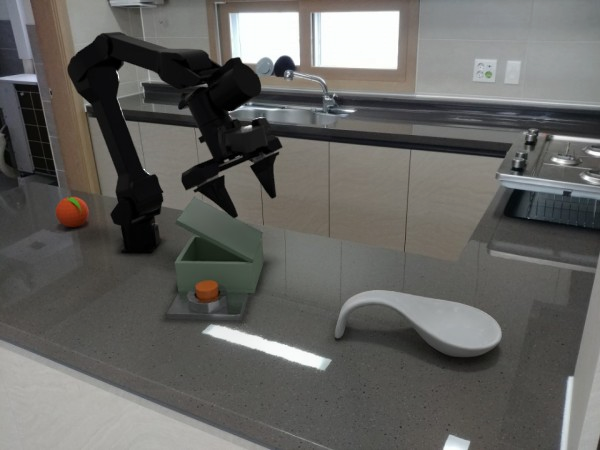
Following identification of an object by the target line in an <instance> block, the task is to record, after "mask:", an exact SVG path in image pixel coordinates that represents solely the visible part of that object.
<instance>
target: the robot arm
mask: <svg viewBox="0 0 600 450" xmlns="http://www.w3.org/2000/svg"><path fill="white" fill-rule="evenodd" d="M125 63H127V64H130V65H132V66H136V67H139V68H141V69H145V70H148V71H151V72H153V73H155V74H157V76H158V77H159V80H161V81H162V82H163V83H165V84H167V85H169V86H170V87H172V88H174V89H176V90H183V89H189V88H193V87H197V88H195V89H194V90H193V91H185V92H181V94H180V100H179V101H178V105H177V109H178V111H179V110H180V111H181V110H186V109H188V110H189V112H190V114H191V116H192V118H193V120H194V122H195V124H196V126H197V128H198V131H199V132H200V136H199V137H198V138H197V139H198V141H199V143H200V144H203V143H205V145H206V147H207V150H208V151H209V153H210V155H211V157H212V158H210V159H207V160H205V161H202V162H200V163H197V164H195V165H193V166H191V167H190V168H189V169H187V170H185V171H183V172H181V176H180V177H181V178H180V179H181V184H182V186H183V188H184V190H185V191H189V190H191V189H193V190H192V191H193V193H195V194H196V193H200V194H201V195H203V196H204V197H206V198H207V199H208V200H210V201H212V202H213V203H214V204H215V205H217V206H218V207H219V209H221V210H222V211H224V212H225V213H227V214H229V215H230V216H231V217H232V218H238V217H239V215H238V212H237V208H236V206H235V203H234V202H233V199H232V198H231V195H230V194H229V192H228V190H227V187H226V180H225V179H226V176H225V174H223V175H219V174H220V173H222V172H224V171H226V170H229V169H231V168H234V167H236V166H238V165H241V164H244V163H246V162H248V161H249V162H250V163H253V164H250V165H249V168H250V169H251V171H252V172H253V174H254V175H255V176H256V179H257V180H258V182H259V183H260V185H261V187H262V188H263V189H264V191H265V193H266V194H267V195H268V197H269V199H271V200H273V199H275V198H277V188H276V181H275V180H276V179H275V173H274V172H275V169H274V168H275V167H274V166H275V161H276V159H277V156H279V155H280V151H279V150H281V149H282V148H283V145H282V142H281V140H280V138H279V137H278V136H276V135H275V134H272V133H273V132H272V128H271V124H270V123H269V121H268V119H267V117H266V116H262V117H261V116H259V117H257V118H254V119H251V124H249V125H245V126H244V125H242V123H241V121H240V120H239V119H238V118H235V119H233V118H232V115H231V114H230V112H235V111H236V110H238V109H239V108H241V107H243V106H244V105H245V104H247V103H249V102H250V101H252V100H253V99H255V98H257V97H258V96H260V94H261V92H262V82H261V79H260V77H259V75H258V73H256V72H255V70H253V69H252V68H251V67H250V66H249V65H248V64H246V63H243V61H242V59H241V57H240V56H236V57H231V58H229V59H227V61H225V63H224V64H223V65H220V64H219V63H217V62H216V61H214V60H213V59H211V58H210V54H209V53H208V52H206V51H205V50H203V49H199V48H171V47H170V48H169V47H166V46H162V45H159V44H156V43H152V42H149V41H146V40H143V39H139V38H136V37H133V36H131V35H127V34H125V33H124V32H122V31H112V32H111V31H110V32H101V33H99V34H98V35H96V37H95V38H94V39H93V41H92V42H90V43H89V44H87V45H86V46H85V47H83V48H81V49H80V50H78V51H77V52H76V54H75V55H73V56H72V57H71V58H70V60H69V63H68V65H67V75H68V77H69V79H70V80H71V83H72V85H73V86H74V89H75V90H76V92H77V94H78V95H79V96H81V98H83V99H84V100H85V101H86V102H87V103H88V104H90V106H91V108H92V112H93V113H94V116H95V118H96V121H97V124H98V127H99V130H100V132H101V134H102V137H103V140H104V143H105V145H106V148H107V150H108V154H109V156H110V158H111V161H112V163H113V167H114V169H115V172H116V174H117V180H116V185H115V197H116V199H117V203H116V205H115V206H114V207H113V209H112V210H111V212H110V214H109V216H110V218H111V220H112V223H113V225H117V226H120V231H121V236H122V243H123V246H122V247H121V249H120V252H121V253H140V254H141V253H142V254H143V253H144V254H145V253H146V254H147V253H153V251H155V248H156V247H157V246H158V245H159V243H160V242H161V241H162V239H161V236H160V235H161V234H160V230H159V224H158V223H157V222H156V216H160V215H161V211H162V208H163V207H162V206H163V203H164V195H163V194H164V192H165V191H164V190H163V188H162V186H161V185H160V181H159V177H158V175H157V174H156V173H153V174H150V173H149V172H148V171H147V170H145V168H144V167H143V165H142V162H141V159H140V157H139V154H138V151H137V149H136V146H135V143H134V140H133V138H132V135H131V132H130V129H129V126H128V123H127V121H126V119H125V116H124V113H123V110H122V107H121V105H120V102H119V99H118V93H119V89H120V88H119V87H120V77H119V73H118V72H119V71H120V70H121V69H122V67H123V66H124V65H125ZM204 85H207V87H206V86H204ZM199 86H200V87H199ZM194 188H195V189H194Z"/></svg>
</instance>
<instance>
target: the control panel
mask: <svg viewBox="0 0 600 450" xmlns="http://www.w3.org/2000/svg"><path fill="white" fill-rule="evenodd" d="M218 293H219V294H218V296H217V297H216V298H214V299H210V300H200V299H198V298H197V296H196V287H194V288H193V289H191V290H189V292H187V291H179V292H178V291H177V295H176V296H175V297H174V299H173V301H172V303H171V305H170V307H169V309H168V310H167V312H166V317H167V320H189V321H190V320H192V321H227V322H229V321H230V322H231V321H232V322H241V321H242V319H243V315H244V312H245V309H246V306H247V303H248V300H249V293H234V292H228V291H227V289H226V288H225V287H224V286H222V285H219V284H218Z"/></svg>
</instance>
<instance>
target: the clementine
mask: <svg viewBox="0 0 600 450" xmlns="http://www.w3.org/2000/svg"><path fill="white" fill-rule="evenodd" d="M89 212H90V211H89V207H88V204H87V203H86V201H84V200H83V199H82V198H79V197H77V196H68V197H65V198H63V199H62V200H60V201H59V202H58V203H57V205H56V207H55V216H56V219H57V220H58V222H59V223H60V224H62V225H63V226H65V227H67V228H77V227H79V226H82V225H83V224H84V223H85V222H86V221H87V220H88V218H89V214H90V213H89Z"/></svg>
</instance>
